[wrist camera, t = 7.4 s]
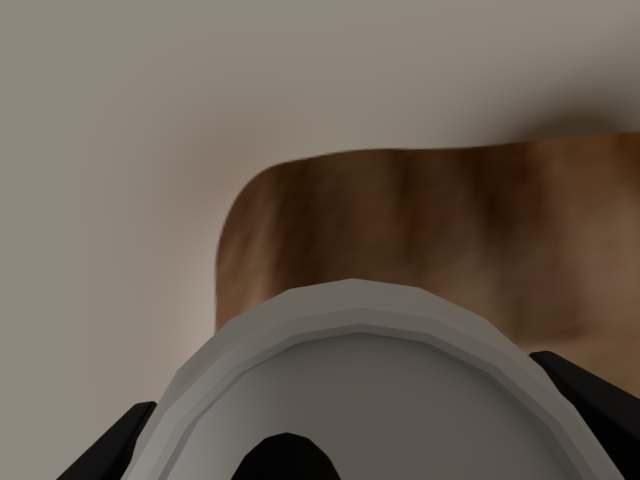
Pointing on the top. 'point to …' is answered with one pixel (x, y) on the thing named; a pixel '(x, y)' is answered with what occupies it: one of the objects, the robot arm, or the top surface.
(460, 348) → the can
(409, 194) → the top surface
